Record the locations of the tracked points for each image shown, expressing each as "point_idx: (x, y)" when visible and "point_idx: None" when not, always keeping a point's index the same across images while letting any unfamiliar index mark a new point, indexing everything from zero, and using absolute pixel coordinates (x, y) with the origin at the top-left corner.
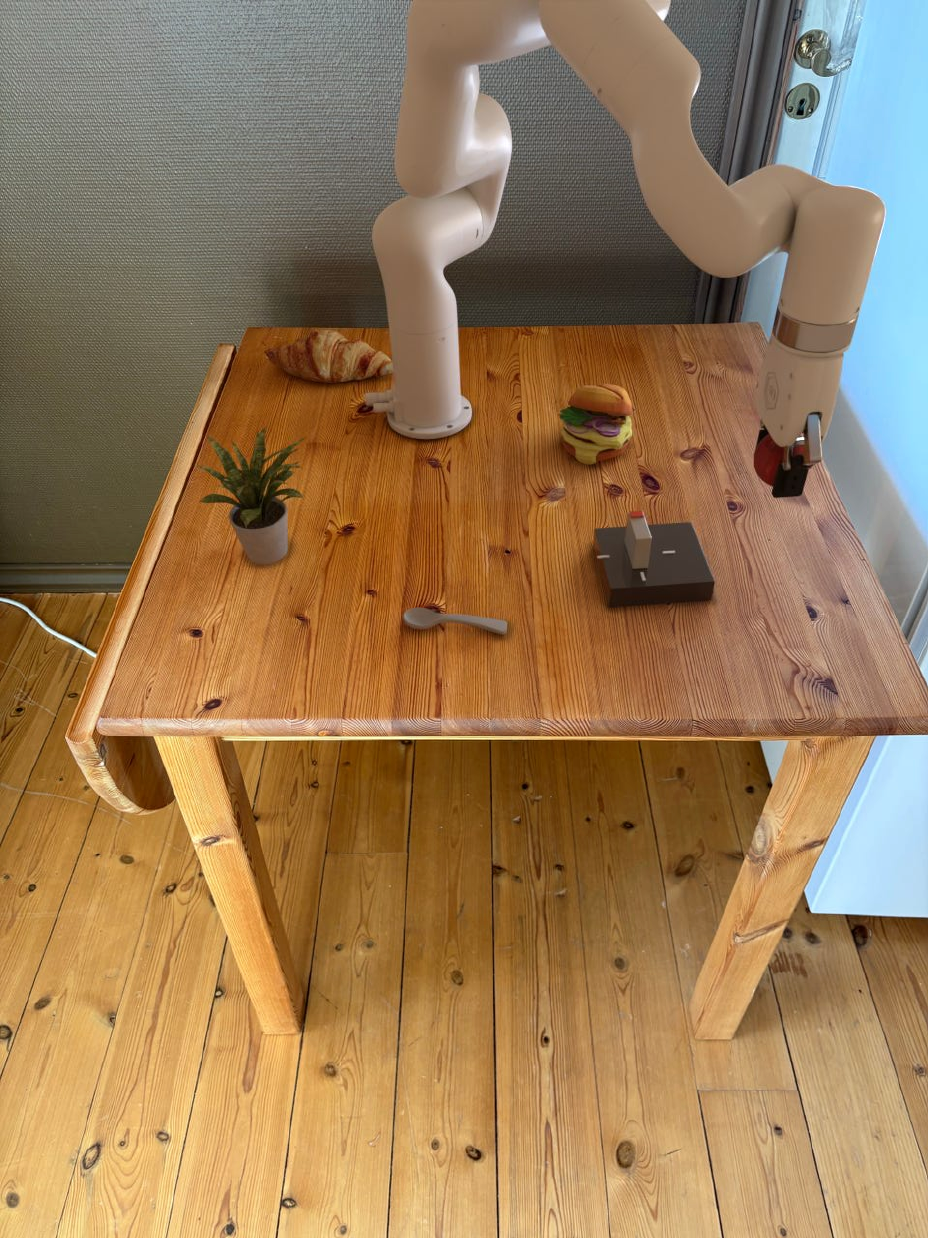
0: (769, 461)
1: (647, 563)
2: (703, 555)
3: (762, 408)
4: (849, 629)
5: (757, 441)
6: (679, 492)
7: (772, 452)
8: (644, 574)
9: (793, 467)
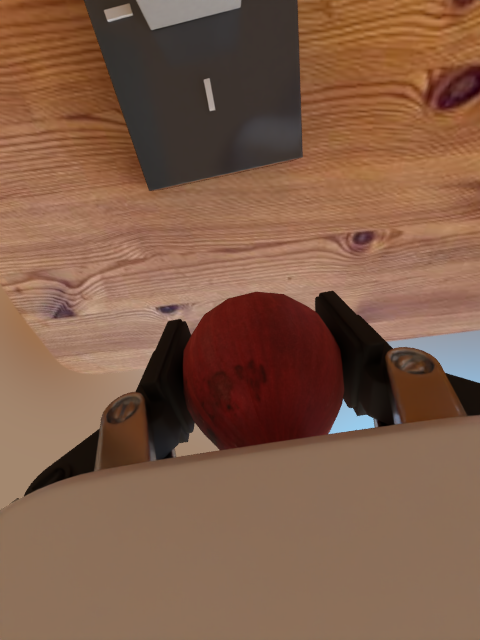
0: (196, 352)
1: (145, 19)
2: (211, 174)
3: (404, 544)
4: (152, 338)
5: (355, 318)
6: (416, 152)
7: (206, 378)
8: (129, 20)
9: (96, 434)
